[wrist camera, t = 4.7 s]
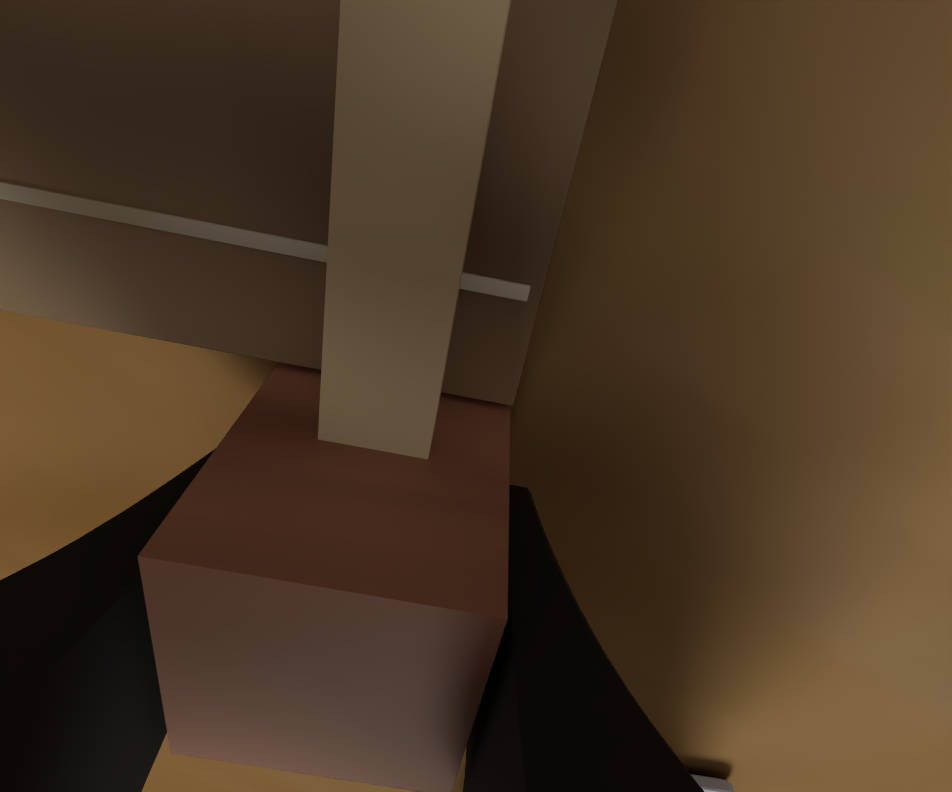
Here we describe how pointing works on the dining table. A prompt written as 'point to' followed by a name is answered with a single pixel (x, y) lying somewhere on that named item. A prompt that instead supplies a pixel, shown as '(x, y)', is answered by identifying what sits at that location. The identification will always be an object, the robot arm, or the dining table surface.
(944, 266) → the dining table surface
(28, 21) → the board
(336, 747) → the block with upright post
